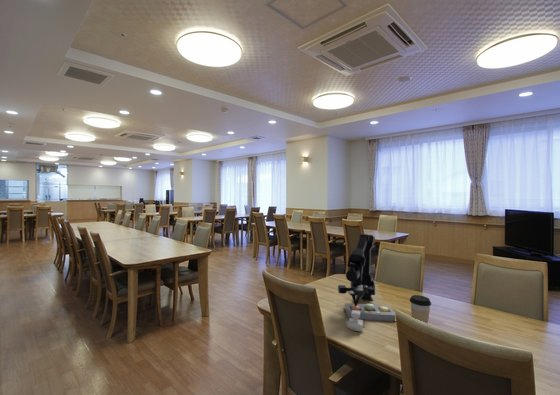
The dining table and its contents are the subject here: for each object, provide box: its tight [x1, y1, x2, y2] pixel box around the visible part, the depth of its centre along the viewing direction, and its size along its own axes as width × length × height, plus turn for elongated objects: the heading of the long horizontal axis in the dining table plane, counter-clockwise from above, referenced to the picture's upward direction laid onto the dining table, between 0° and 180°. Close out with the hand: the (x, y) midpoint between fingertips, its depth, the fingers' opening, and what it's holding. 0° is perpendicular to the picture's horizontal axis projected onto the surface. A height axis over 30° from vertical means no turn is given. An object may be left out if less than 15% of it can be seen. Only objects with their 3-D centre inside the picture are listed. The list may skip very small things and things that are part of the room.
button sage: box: [365, 303, 375, 311], centre depth 150 cm, size 4×4×3 cm
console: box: [344, 302, 396, 322], centre depth 150 cm, size 13×24×3 cm, turn 86°
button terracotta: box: [351, 305, 360, 310], centre depth 151 cm, size 4×4×3 cm
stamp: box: [345, 310, 366, 332], centre depth 133 cm, size 9×7×8 cm
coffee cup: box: [408, 294, 432, 324], centre depth 135 cm, size 9×9×15 cm
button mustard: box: [380, 306, 389, 312], centre depth 150 cm, size 4×4×3 cm
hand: (355, 305), depth 151 cm, fingers closed
